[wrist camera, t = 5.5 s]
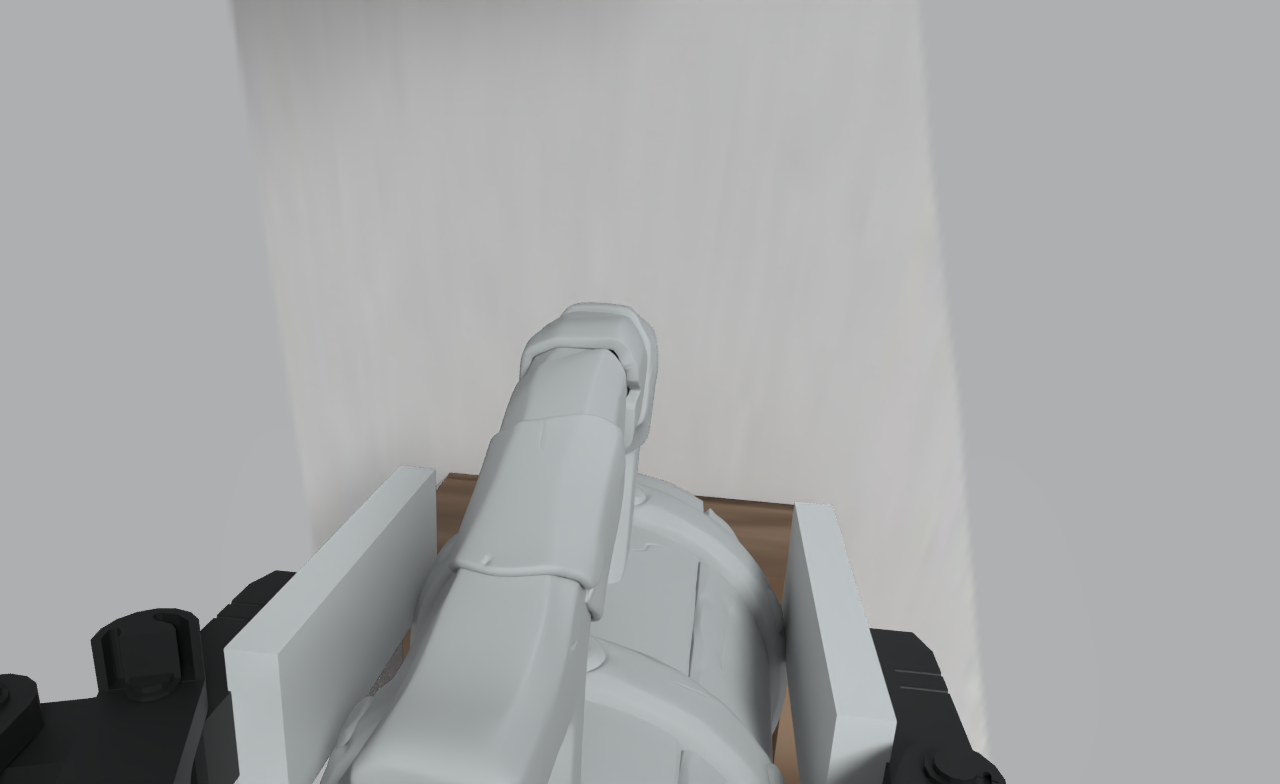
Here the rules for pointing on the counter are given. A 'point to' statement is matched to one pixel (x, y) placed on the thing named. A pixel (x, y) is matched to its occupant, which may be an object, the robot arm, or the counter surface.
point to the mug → (580, 604)
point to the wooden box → (749, 520)
